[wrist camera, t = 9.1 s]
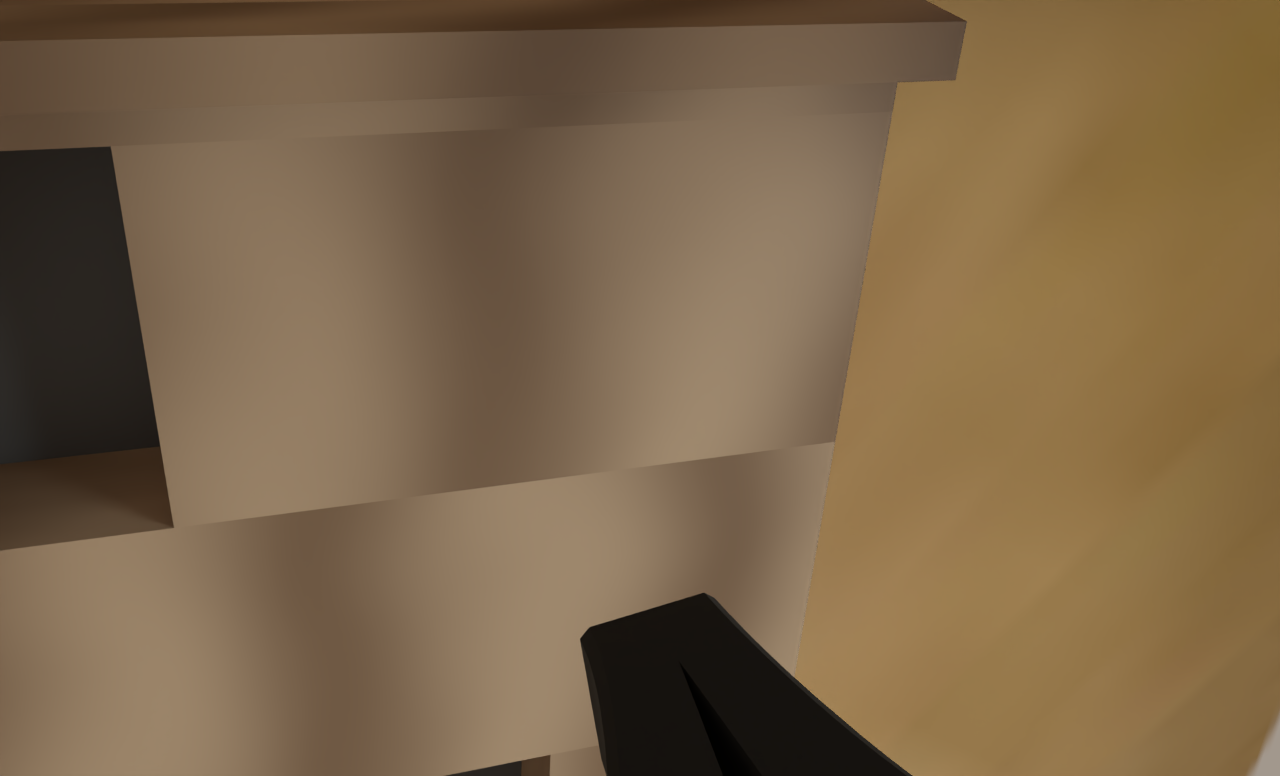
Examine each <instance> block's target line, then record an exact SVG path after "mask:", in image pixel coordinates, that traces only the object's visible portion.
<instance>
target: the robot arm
mask: <svg viewBox="0 0 1280 776" xmlns="http://www.w3.org/2000/svg"><path fill="white" fill-rule="evenodd" d="M580 643H581V648H582V654H583V659H584V665H585V671H586V676H587V682H588V687H589V693H590V699H591V704H592V710H593V715H594V721H595V727H596V732H597V738H598V743H599V749H600V755H601V760H602V763H603V766H604V769H605V773H606V776H912V775H911V774H909V773H908V772H907V771H905V770H904V769H903V768H901V767H900V766H899V765H898V764H896V763H895V762H894V761H892V760H891V759H890V758H888V757H887V756H886V755H885V754H883V753H882V752H881V751H880V750H878V749H877V748H876V747H875V746H873V745H872V744H871V743H870V742H868V741H867V740H866V739H865V738H863V737H862V736H861V735H860V734H859V733H858V732H856V731H855V730H854V729H853V728H852V727H851V726H849V725H848V724H847V723H846V722H845V721H843V720H842V719H841V718H840V717H839V716H838V715H836V714H835V713H834V712H833V711H832V710H831V709H829V708H828V707H827V706H826V705H825V704H823V703H822V702H821V701H820V700H819V699H818V698H816V697H815V696H814V695H813V694H812V693H811V692H810V691H809V690H808V689H806V688H805V687H804V686H803V685H802V684H801V683H800V682H799V681H798V680H796V679H795V678H794V677H793V676H792V675H791V674H790V673H789V672H788V671H787V670H786V669H785V668H784V667H783V666H781V665H780V664H779V663H778V662H777V661H776V660H775V659H774V658H773V657H772V656H771V655H770V654H769V653H768V652H767V651H766V650H765V649H764V648H763V647H762V646H761V645H760V644H759V643H758V642H756V641H755V640H754V639H753V638H752V637H751V636H750V635H749V634H748V633H747V632H746V631H745V629H744V628H743V627H742V626H741V625H740V624H739V623H738V622H737V621H736V620H735V619H734V618H733V617H732V616H731V615H730V614H729V613H728V612H727V611H726V610H725V609H724V608H723V606H722V605H721V604H720V603H719V602H718V601H717V600H716V599H715V598H714V597H712V596H710V595H708V594H706V593H701V594H697V595H694V596H691V597H688V598H684V599H681V600H678V601H674V602H671V603H668V604H664V605H661V606H658V607H654V608H651V609H648V610H644V611H641V612H638V613H635V614H631V615H628V616H625V617H621V618H618V619H615V620H611V621H608V622H605V623H601V624H598V625H595V626H591V627H589V628H588V629H587V631H586V632H585V633H584V634H583V636H582V637H581V638H580Z"/></svg>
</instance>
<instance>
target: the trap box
mask: <svg viewBox="0 0 1280 776" xmlns="http://www.w3.org/2000/svg"><path fill="white" fill-rule="evenodd" d="M966 23H967V21H965V20H963V19H961V18H959V17H957V16H955V15H953V14H951V13H949V12H947V11H945V10H943V9H941V8H940V7H938V6H936V5H934V4H932V3H930V2H928V1H926V0H0V776H606V773H605V769H604V766H603V763H602V760H601V755H600V749H599V743H598V738H597V732H596V727H595V721H594V715H593V710H592V704H591V699H590V693H589V687H588V682H587V676H586V671H585V665H584V659H583V654H582V648H581V643H580V638H581V637H582V636H583V634H584V633H585V632H586V631H587V629H588V628H589V627H591V626H595V625H598V624H601V623H605V622H608V621H611V620H615V619H618V618H621V617H625V616H628V615H631V614H635V613H638V612H641V611H644V610H648V609H651V608H654V607H658V606H661V605H664V604H668V603H671V602H674V601H678V600H681V599H684V598H688V597H691V596H694V595H697V594H701V593H706V594H708V595H710V596H712V597H714V598H715V599H716V600H717V601H718V602H719V603H720V604H721V605H722V606H723V608H724V609H725V610H726V611H727V612H728V613H729V614H730V615H731V616H732V617H733V618H734V619H735V620H736V621H737V622H738V623H739V624H740V625H741V626H742V627H743V628H744V629H745V631H746V632H747V633H748V634H749V635H750V636H751V637H752V638H753V639H754V640H755V641H756V642H758V643H759V644H760V645H761V646H762V647H763V648H764V649H765V650H766V651H767V652H768V653H769V654H770V655H771V656H772V657H773V658H774V659H775V660H776V661H777V662H778V663H779V664H780V665H781V666H783V667H784V668H785V669H786V670H787V671H788V672H789V673H790V674H791V675H792V676H793V677H794V676H795V670H796V664H797V658H798V652H799V647H800V641H801V635H802V629H803V624H804V618H805V612H806V606H807V601H808V595H809V589H810V583H811V578H812V572H813V566H814V560H815V555H816V549H817V543H818V537H819V532H820V526H821V520H822V514H823V508H824V503H825V497H826V491H827V485H828V480H829V474H830V468H831V462H832V457H833V451H834V445H835V439H836V434H837V428H838V422H839V416H840V411H841V405H842V399H843V393H844V388H845V382H846V376H847V370H848V364H849V359H850V353H851V347H852V341H853V336H854V330H855V324H856V318H857V313H858V307H859V301H860V295H861V290H862V284H863V278H864V272H865V267H866V261H867V255H868V249H869V244H870V238H871V232H872V226H873V220H874V215H875V209H876V203H877V197H878V192H879V186H880V180H881V174H882V169H883V163H884V157H885V151H886V146H887V140H888V134H889V128H890V123H891V117H892V111H893V105H894V100H895V94H896V88H897V82H917V81H944V80H955V79H956V74H957V69H958V64H959V58H960V53H961V48H962V43H963V38H964V33H965V28H966Z"/></svg>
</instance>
